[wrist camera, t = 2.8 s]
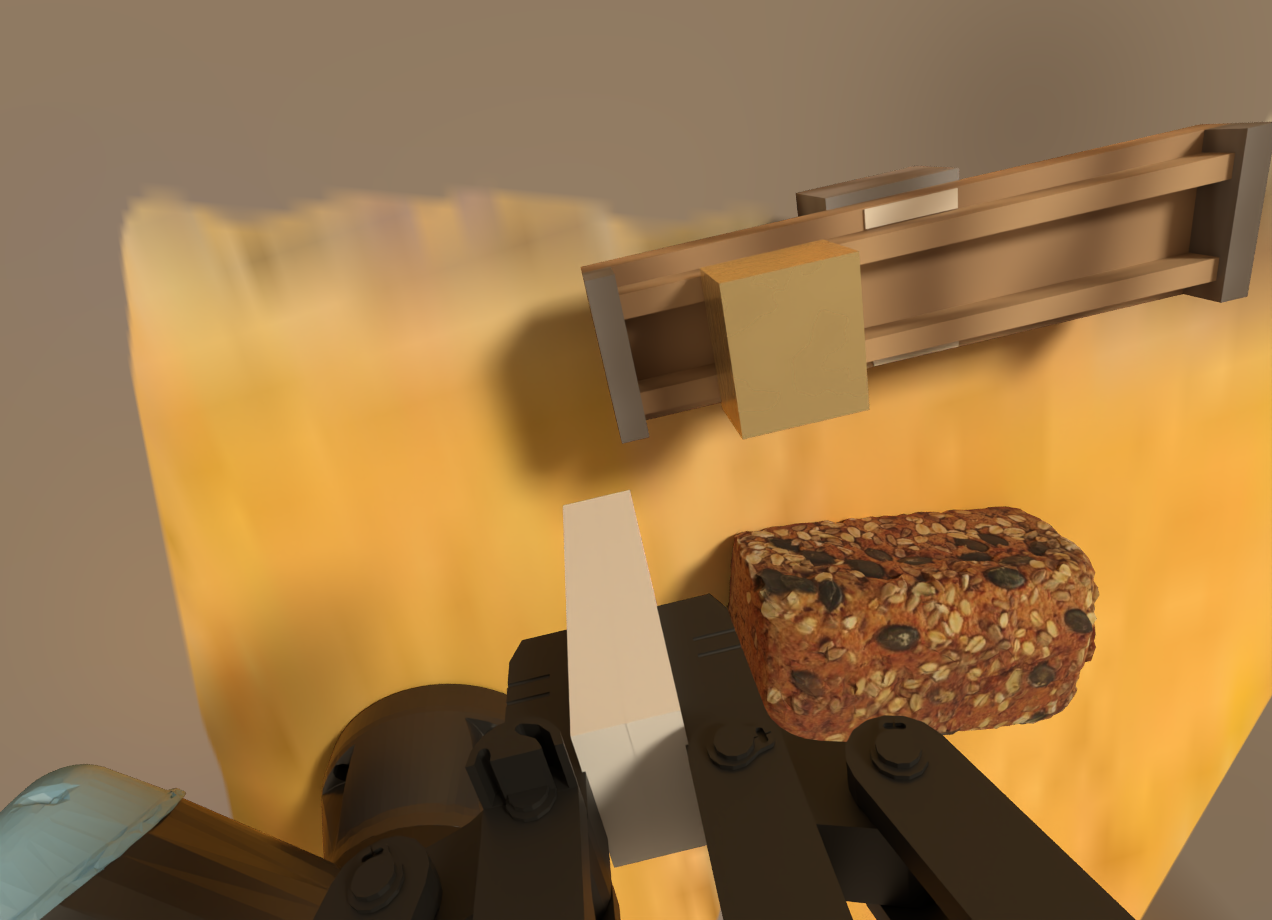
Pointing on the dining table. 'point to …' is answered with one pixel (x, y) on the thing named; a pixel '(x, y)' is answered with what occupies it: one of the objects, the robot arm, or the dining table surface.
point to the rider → (788, 336)
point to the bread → (913, 620)
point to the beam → (959, 256)
